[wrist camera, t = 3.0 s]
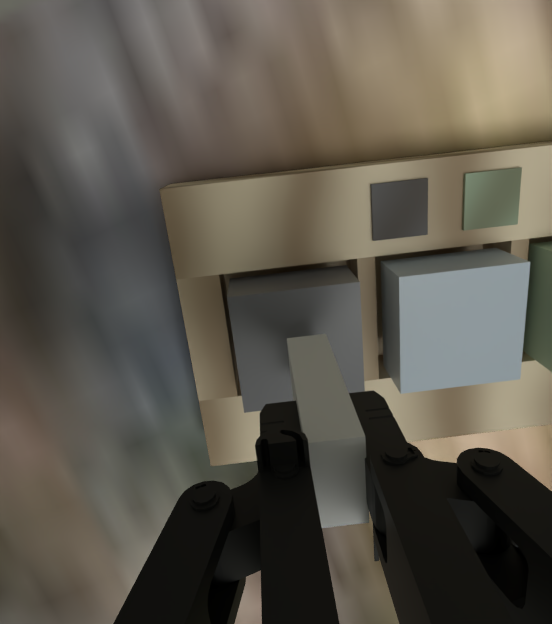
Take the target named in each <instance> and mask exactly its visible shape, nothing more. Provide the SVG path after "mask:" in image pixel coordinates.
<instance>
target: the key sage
mask: <svg viewBox="0 0 552 624" xmlns="http://www.w3.org/2000/svg"><path fill="white" fill-rule="evenodd" d="M528 261H530V273H529V285H528V296H527V307H526V319H525V330H524V342H523V351H524V352H525V353H526V354H528V355H529V356H531V357H532V358H533V359H535V360H536V361H537V362H539V363H540V364H541V365H543V366H544V367H545V368H547V369H548V370H549V371H551V372H552V241H548V242H540V243H531V244H530V246H529V257H528Z"/></svg>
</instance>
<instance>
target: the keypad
mask: <svg viewBox="0 0 552 624" xmlns="http://www.w3.org/2000/svg"><path fill="white" fill-rule="evenodd" d="M159 190H160V195H161V200H162V206H163V211H164V216H165V222H166V227H167V233H168V238H169V243H170V249H171V254H172V259H173V265H174V270H175V275H176V281H177V286H178V292H179V297H180V302H181V308H182V313H183V318H184V324H185V329H186V334H187V340H188V345H189V351H190V356H191V361H192V367H193V372H194V377H195V383H196V388H197V393H198V399H199V404H200V410H201V415H202V420H203V426H204V431H205V436H206V442H207V447H208V453H209V458H210V463H211V466H217V465H226V464H234V463H242V462H250V461H257V457H256V450H255V444H256V440H257V439H258V438H259V437H260V412H261V411H255V412H246V413H244V408H243V402H242V395H241V388H240V382H239V375H238V368H237V361H236V355H235V348H234V341H233V335H232V328H231V321H230V314H229V308H228V301H227V294H228V287H229V280H230V279H231V278H239V277H248V276H256V275H265V274H274V273H282V272H291V271H299V270H308V269H316V268H325V267H334V266H342V265H347V267H348V268H349V269H350V270H351V272H352V273H353V274H354V275H355V276H356V278H357V279H358V280H359V281H360V294H361V317H362V340H363V363H364V386H365V391H372V390H374V391H375V392H377V393H378V394H379V395H381V396H382V397H384V398H385V400H386V402H387V404H388V406H389V409H390V410H391V412H392V414H393V417H394V418H395V420H396V422H397V423H398V425H399V427H400V429H401V431H402V433H403V435H404V437H405V439H406V441H407V442H412V441H421V440H429V439H437V438H445V437H453V436H461V435H469V434H477V433H486V432H494V431H502V430H510V429H518V428H526V427H534V426H542V425H551V424H552V372H551V371H549V370H548V369H547V368H545V367H544V366H543V365H541V364H540V363H539V362H537V361H536V360H535V359H533V358H532V357H531V356H529V355H528V354H526V353H525V352H524V351H523V353H522V364H521V376H520V379H518V380H510V381H502V382H494V383H486V384H477V385H469V386H461V387H453V388H444V389H436V390H428V391H420V392H411V393H403V394H400V392H399V390H398V389H397V387H396V385H395V384H394V382H393V381H392V379H391V377H390V376H389V374H388V372H387V371H386V369H385V367H384V366H383V335H382V298H381V261H385V260H394V259H402V258H411V257H420V256H428V255H437V254H445V253H454V252H463V251H471V250H480V249H488V248H498V249H500V250H503V251H505V252H508V253H510V254H512V255H515V256H517V257H520V258H522V259H525V260H527V261H528V257H529V246H530V244H531V243H540V242H548V241H552V141H547V142H538V143H529V144H520V145H512V146H503V147H494V148H485V149H476V150H467V151H458V152H449V153H441V154H432V155H423V156H414V157H405V158H396V159H387V160H378V161H370V162H361V163H352V164H343V165H334V166H325V167H316V168H307V169H299V170H290V171H281V172H272V173H263V174H254V175H245V176H236V177H228V178H219V179H210V180H201V181H192V182H183V183H174V184H170V185H168V186H165V187H163V188H161V189H159Z"/></svg>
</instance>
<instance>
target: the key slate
mask: <svg viewBox="0 0 552 624" xmlns="http://www.w3.org/2000/svg"><path fill="white" fill-rule="evenodd" d="M529 273H530V261H527V260H525V259H522V258H520V257H517V256H515V255H512V254H510V253H508V252H505V251H503V250H500V249H498V248H488V249H480V250H471V251H463V252H454V253H445V254H437V255H428V256H420V257H411V258H402V259H394V260H385V261H381V298H382V335H383V366H384V367H385V369H386V371H387V372H388V374H389V376H390V377H391V379H392V381H393V382H394V384H395V385H396V387H397V389H398V390H399V392H400V394H403V393H411V392H420V391H428V390H436V389H444V388H453V387H461V386H469V385H477V384H486V383H494V382H502V381H510V380H518V379H520V376H521V364H522V353H523V342H524V330H525V319H526V307H527V296H528V285H529Z"/></svg>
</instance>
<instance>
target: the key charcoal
mask: <svg viewBox="0 0 552 624" xmlns="http://www.w3.org/2000/svg"><path fill="white" fill-rule="evenodd" d="M227 301H228V308H229V314H230V321H231V328H232V335H233V341H234V348H235V355H236V361H237V368H238V375H239V382H240V388H241V395H242V402H243V408H244V413H246V412H255V411H261V410H262V409H263V407H264V406H265V404H270V403H279V402H287V401H293V394H292V384H291V375H290V365H289V356H288V346H287V338H293V337H302V336H311V335H319V334H326V336H327V338H328V341H329V344H330V346H331V349H332V351H333V354H334V356H335V359H336V362H337V364H338V367H339V369H340V372H341V375H342V377H343V380H344V382H345V385H346V388H347V390H348V393H355V392H363V391H365V386H364V363H363V340H362V317H361V294H360V281H359V280H358V279H357V278H356V276H355V275H354V274H353V273H352V272H351V270H350V269H349V268H348V267H347V265H342V266H334V267H325V268H316V269H308V270H299V271H291V272H282V273H274V274H265V275H256V276H248V277H239V278H231V279H230V280H229V287H228V294H227Z"/></svg>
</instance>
